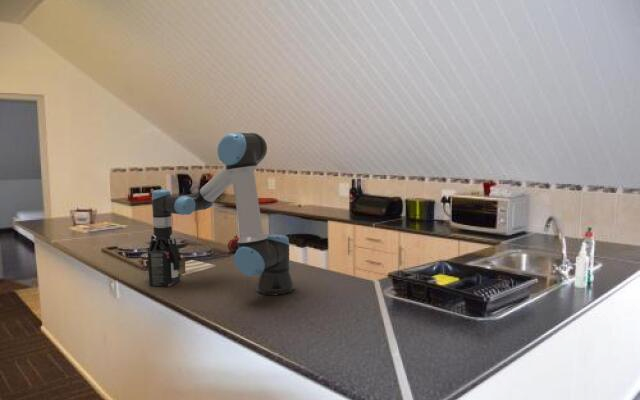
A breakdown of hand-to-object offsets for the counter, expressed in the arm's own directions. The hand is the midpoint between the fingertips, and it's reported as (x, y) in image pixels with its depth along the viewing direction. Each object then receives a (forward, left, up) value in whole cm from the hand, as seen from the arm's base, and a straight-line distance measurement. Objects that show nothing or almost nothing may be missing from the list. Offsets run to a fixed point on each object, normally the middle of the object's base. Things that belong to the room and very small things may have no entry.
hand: (164, 274), depth 212 cm
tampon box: (0, 0, -4) cm, 4 cm away
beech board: (+11, -21, -4) cm, 24 cm away
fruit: (+15, -57, -4) cm, 59 cm away
